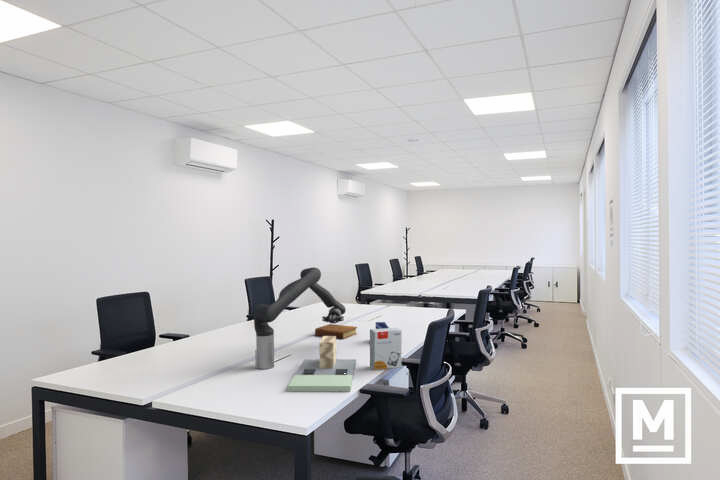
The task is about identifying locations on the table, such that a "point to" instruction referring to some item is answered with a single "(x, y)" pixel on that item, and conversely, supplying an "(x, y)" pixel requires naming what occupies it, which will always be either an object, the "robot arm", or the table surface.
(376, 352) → the hard drive box
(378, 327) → the phone stand
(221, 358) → the table surface
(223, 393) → the table surface
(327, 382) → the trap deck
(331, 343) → the maple block
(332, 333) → the diary
